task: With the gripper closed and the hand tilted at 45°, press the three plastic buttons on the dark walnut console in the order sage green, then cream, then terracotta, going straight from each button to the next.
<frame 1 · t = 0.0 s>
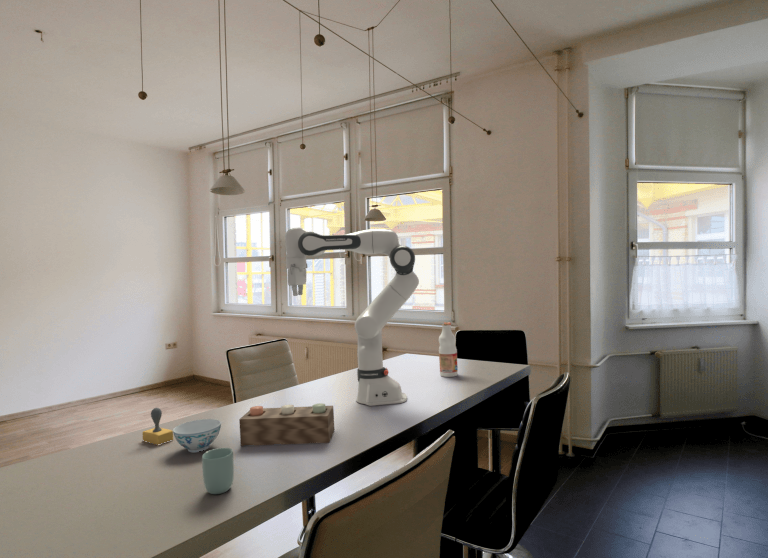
hand: (298, 295, 202), 48 cm above the table, tool pointing down, fingers open, 8 cm apart
cream button: (287, 411, 158), point 9 cm above the table, slide at 0.0 cm
terracotta button: (256, 412, 158), point 9 cm above the table, slide at 0.0 cm
sage button: (319, 410, 157), point 9 cm above the table, slide at 0.0 cm
console: (289, 437, 158), on the table
chinaware: (198, 449, 152), on the table
rubber stamp: (158, 441, 162), on the table
fruit juice: (449, 375, 241), on the table
cup: (219, 491, 120), on the table
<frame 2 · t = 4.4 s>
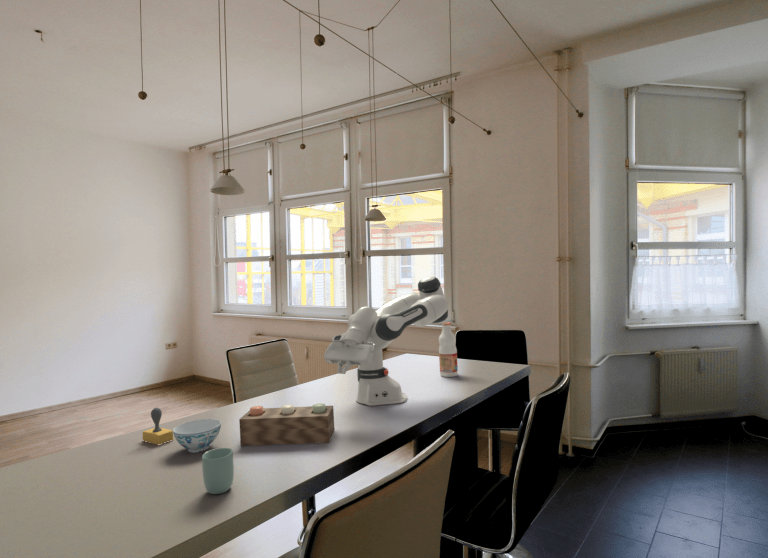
hand: (340, 373, 167), 20 cm above the table, tool tilted 45°, fingers closed
nothing on the table moved.
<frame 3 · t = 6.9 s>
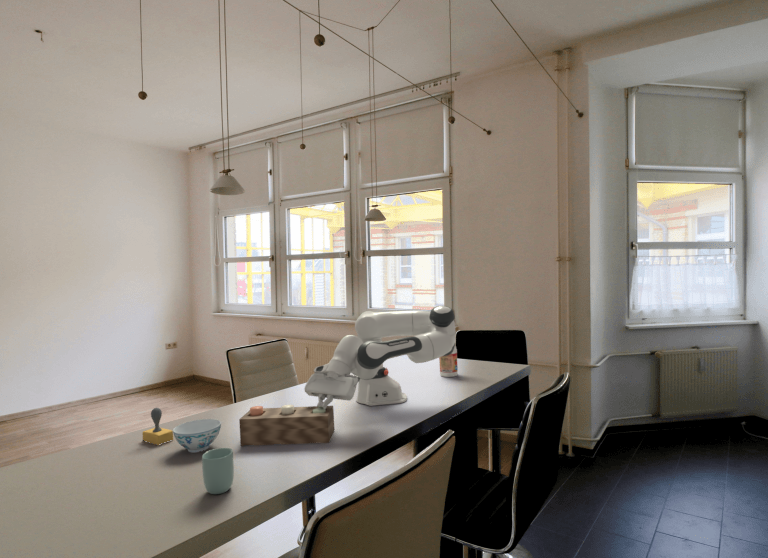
hand: (321, 407, 157), 10 cm above the table, tool tilted 45°, fingers closed, pressing on sage button
sage button: (319, 414, 157), point 8 cm above the table, slide at 1.6 cm, touching gripper
everything else where it was.
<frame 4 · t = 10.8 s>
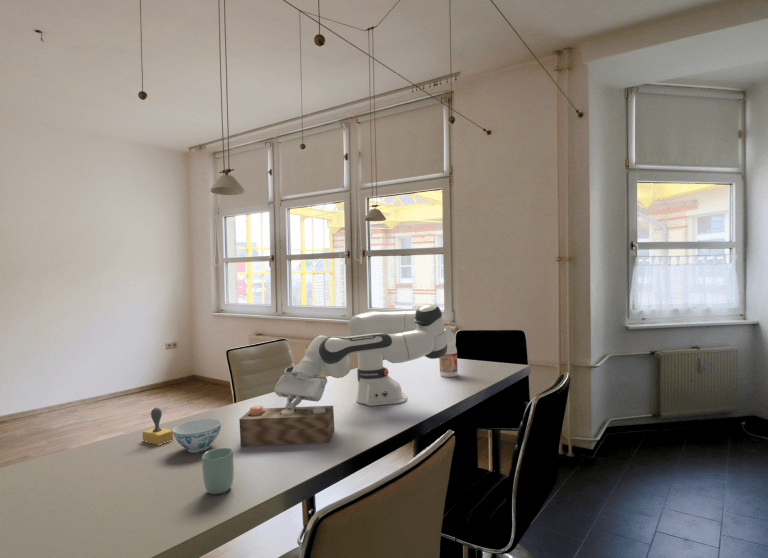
hand: (289, 408, 158), 10 cm above the table, tool tilted 45°, fingers closed, pressing on cream button
cream button: (288, 415, 158), point 8 cm above the table, slide at 1.4 cm, touching gripper
sage button: (319, 414, 157), point 8 cm above the table, slide at 1.6 cm
everything else where it was.
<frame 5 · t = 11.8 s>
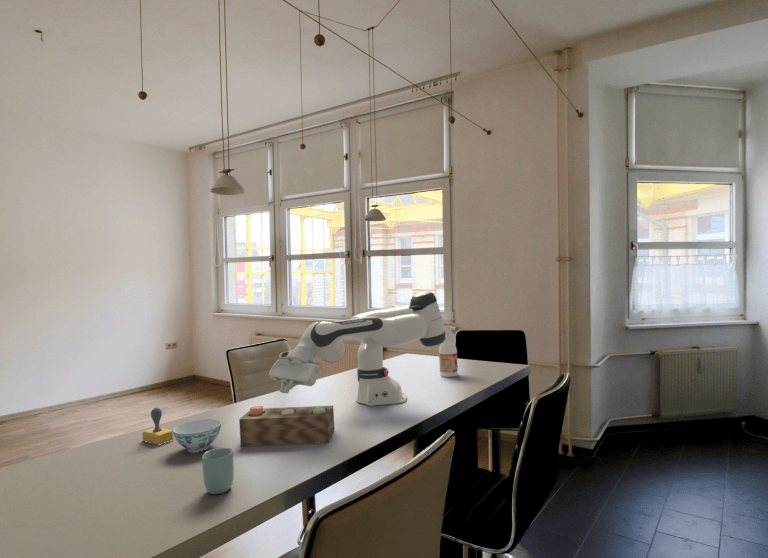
hand: (283, 392, 161), 15 cm above the table, tool tilted 45°, fingers closed
cream button: (288, 415, 158), point 8 cm above the table, slide at 1.6 cm
everything else where it was.
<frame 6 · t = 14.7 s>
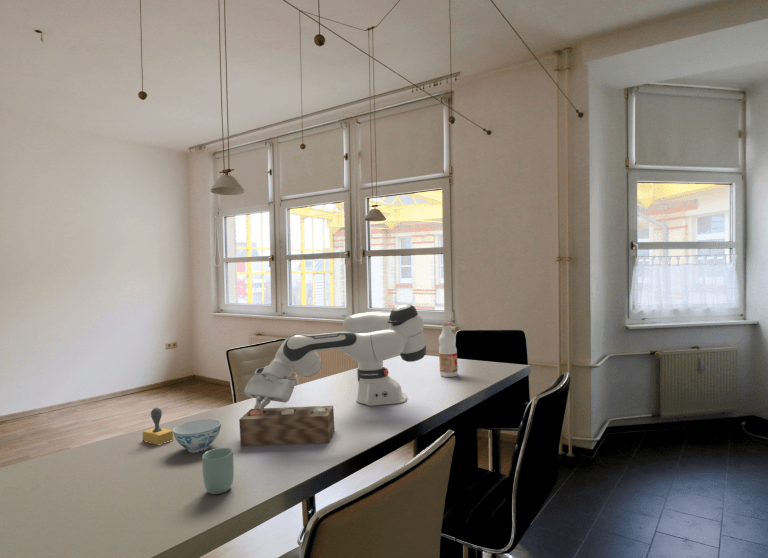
hand: (257, 409, 158), 10 cm above the table, tool tilted 45°, fingers closed, pressing on terracotta button
terracotta button: (256, 416, 158), point 8 cm above the table, slide at 1.3 cm, touching gripper
everything else where it was.
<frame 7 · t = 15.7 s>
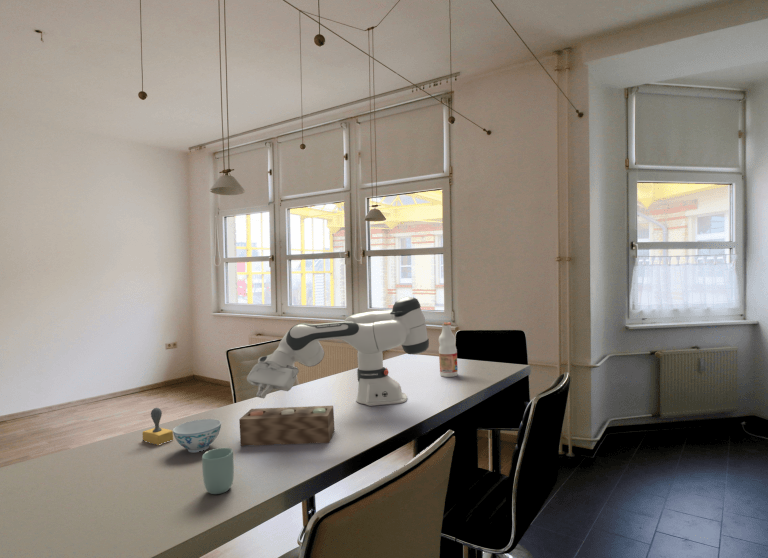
hand: (259, 397, 160), 14 cm above the table, tool tilted 45°, fingers closed
terracotta button: (256, 417, 158), point 8 cm above the table, slide at 1.6 cm
everything else where it was.
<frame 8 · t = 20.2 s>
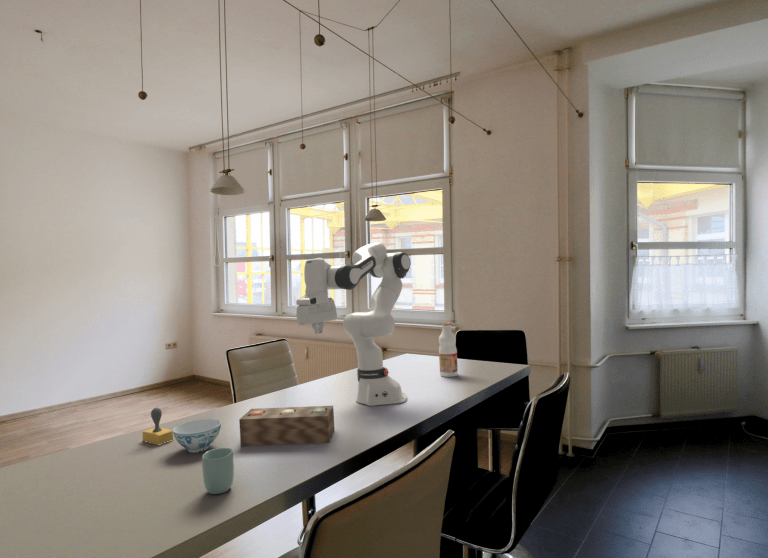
hand: (318, 333, 179), 33 cm above the table, tool pointing down, fingers closed
nothing on the table moved.
at the end: sage button slide at 1.6 cm; cream button slide at 1.6 cm; terracotta button slide at 1.6 cm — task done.
